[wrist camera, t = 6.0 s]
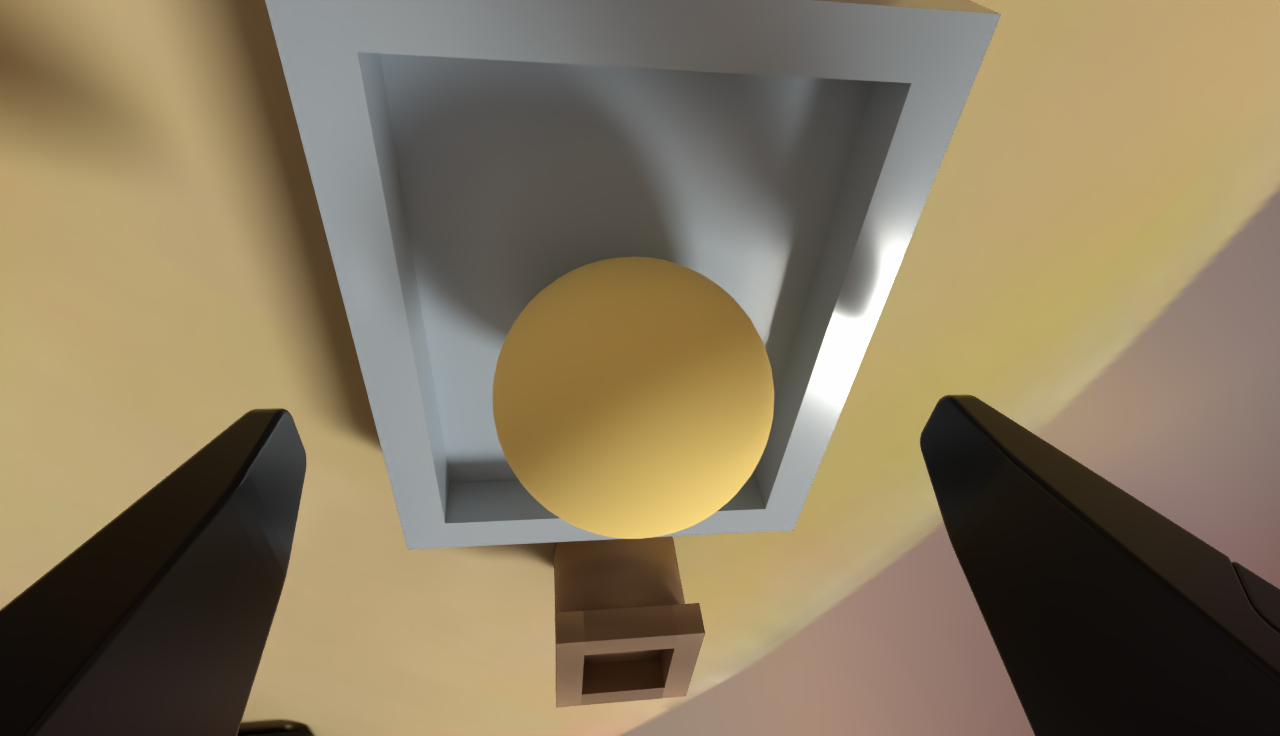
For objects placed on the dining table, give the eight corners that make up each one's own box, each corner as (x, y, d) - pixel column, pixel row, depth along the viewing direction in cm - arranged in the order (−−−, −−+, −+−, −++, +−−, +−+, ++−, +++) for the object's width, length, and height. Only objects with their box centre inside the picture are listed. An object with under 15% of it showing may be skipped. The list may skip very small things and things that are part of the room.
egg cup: (666, 580, 18) (685, 696, 16) (554, 587, 18) (556, 707, 16) (680, 512, 16) (704, 633, 14) (553, 517, 16) (556, 644, 13)
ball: (716, 399, 12) (774, 586, 9) (505, 404, 12) (494, 605, 9) (758, 208, 10) (855, 382, 7) (491, 202, 9) (468, 390, 6)
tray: (768, 459, 15) (793, 529, 14) (422, 471, 14) (407, 549, 13) (923, -20, 9) (1000, 14, 7) (309, -70, 8) (254, -42, 6)
